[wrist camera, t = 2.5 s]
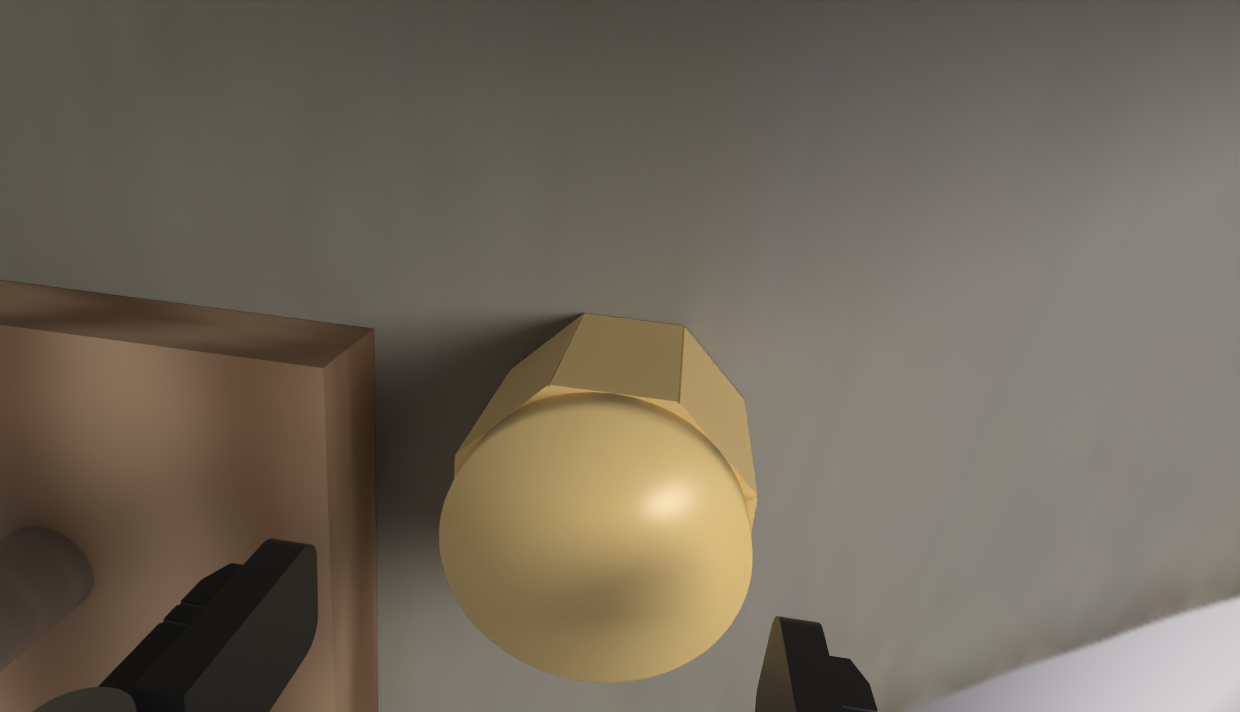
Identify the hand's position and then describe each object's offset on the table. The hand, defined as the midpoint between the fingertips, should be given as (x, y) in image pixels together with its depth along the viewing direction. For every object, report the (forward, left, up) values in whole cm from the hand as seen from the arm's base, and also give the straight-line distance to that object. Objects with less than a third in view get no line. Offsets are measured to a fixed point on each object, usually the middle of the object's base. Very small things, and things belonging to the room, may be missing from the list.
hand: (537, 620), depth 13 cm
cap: (-1, 0, -8) cm, 8 cm away
